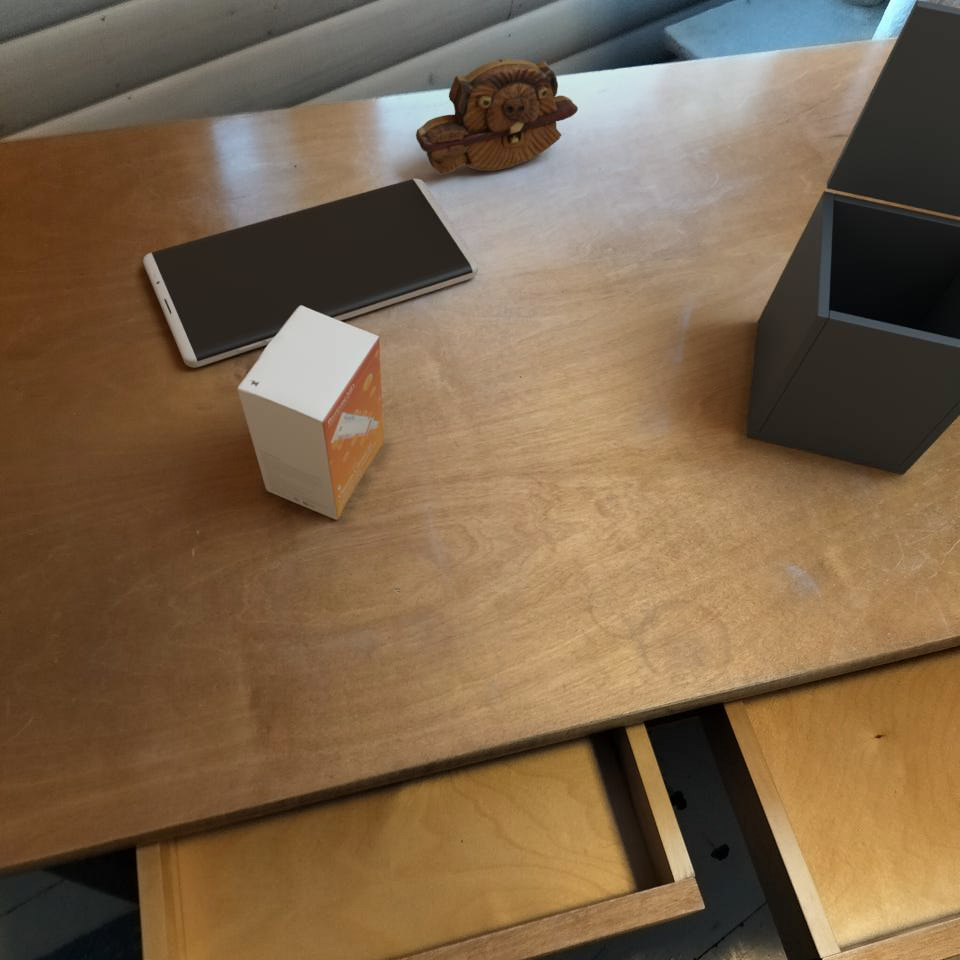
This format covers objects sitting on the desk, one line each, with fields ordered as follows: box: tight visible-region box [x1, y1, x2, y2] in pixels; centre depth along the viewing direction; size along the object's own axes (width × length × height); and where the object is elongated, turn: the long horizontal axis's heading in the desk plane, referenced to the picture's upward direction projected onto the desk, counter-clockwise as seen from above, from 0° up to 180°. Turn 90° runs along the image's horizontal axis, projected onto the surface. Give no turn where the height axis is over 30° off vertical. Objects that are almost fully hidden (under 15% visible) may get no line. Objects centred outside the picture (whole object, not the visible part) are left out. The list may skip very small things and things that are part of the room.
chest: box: [745, 190, 960, 475], centre depth 67 cm, size 13×13×15 cm
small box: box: [237, 305, 385, 521], centre depth 61 cm, size 8×6×13 cm
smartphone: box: [142, 178, 480, 369], centre depth 76 cm, size 13×27×2 cm, turn 117°
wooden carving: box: [415, 58, 579, 175], centre depth 82 cm, size 16×5×10 cm, turn 118°
